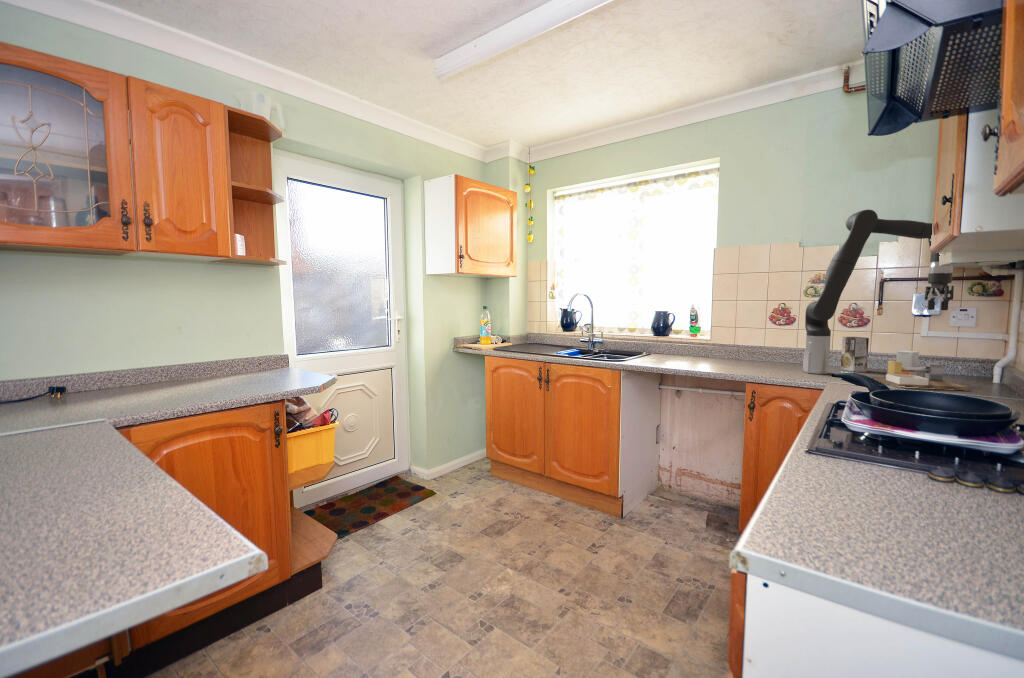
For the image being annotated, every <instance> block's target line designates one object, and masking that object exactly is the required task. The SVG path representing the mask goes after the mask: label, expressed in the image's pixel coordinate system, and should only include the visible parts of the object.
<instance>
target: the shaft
mask: <svg viewBox="0 0 1024 678" xmlns="http://www.w3.org/2000/svg"><path fill="white" fill-rule="evenodd" d="M929 370H930V367H924V366H922V367H921V366H918V367H902V362H898V361H896V360H888V361H887V373H886V374H901V373H902V372H917V373H923V372H929Z"/></svg>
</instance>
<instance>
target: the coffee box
mask: <svg viewBox="0 0 1024 678" xmlns="http://www.w3.org/2000/svg"><path fill="white" fill-rule="evenodd" d="M841 339H842V340H841V356H840V357H841V359H840V370H842V371H848V372H849V371H850V372H854V371H855V373H856V372H857V373H860V372H861V373H867V370H868V358H869V357H868V355H869V343H870V342H869V341H870V339H869V337H861V336H842V338H841Z"/></svg>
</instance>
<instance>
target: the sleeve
mask: <svg viewBox="0 0 1024 678" xmlns="http://www.w3.org/2000/svg"><path fill="white" fill-rule="evenodd" d="M885 377H886V380H887V381H890V382H894V383H897V384H908V385H928V381H929V379H928V378H924V377H923V376H919V375H917V376H916V375H902V374H887V373H886V374H885Z"/></svg>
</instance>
